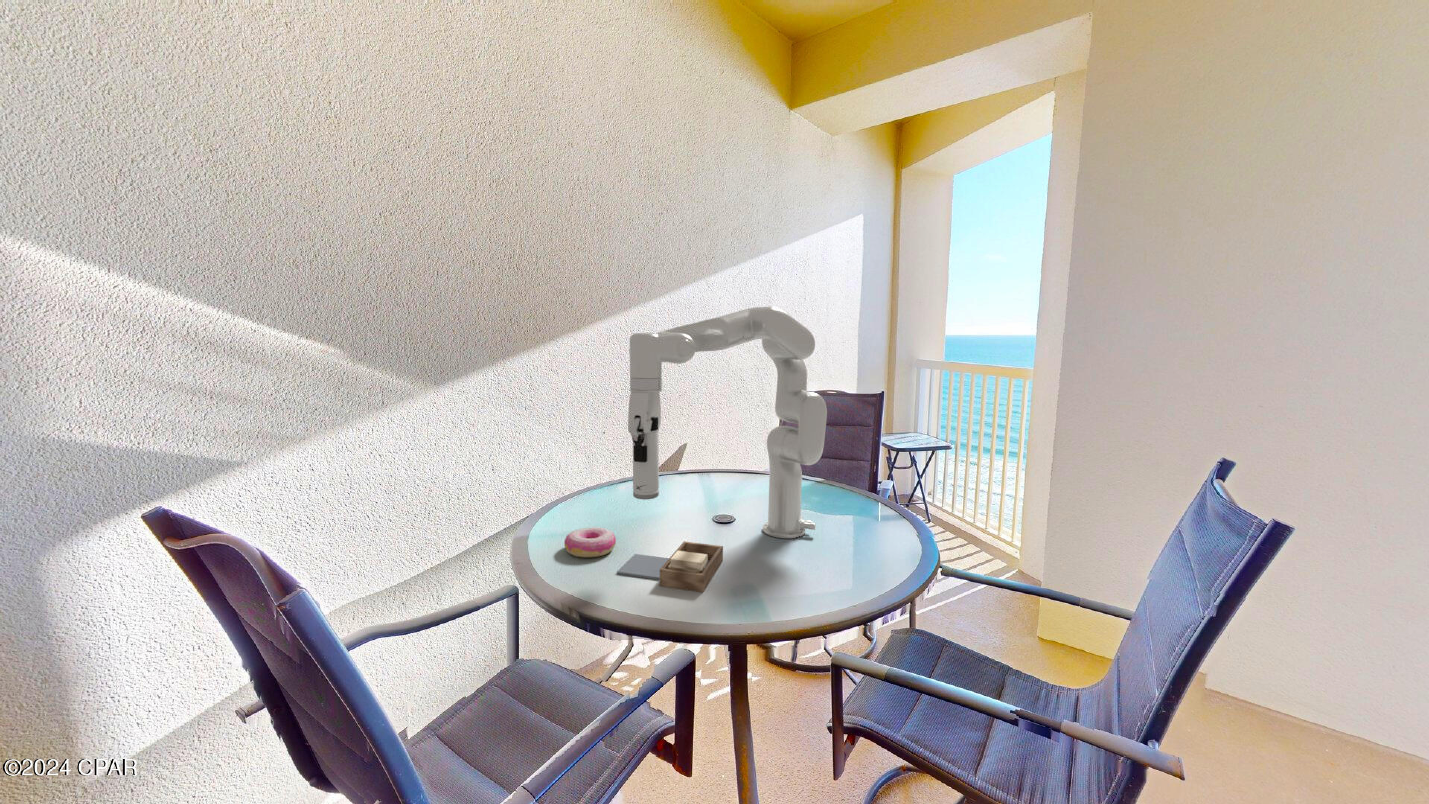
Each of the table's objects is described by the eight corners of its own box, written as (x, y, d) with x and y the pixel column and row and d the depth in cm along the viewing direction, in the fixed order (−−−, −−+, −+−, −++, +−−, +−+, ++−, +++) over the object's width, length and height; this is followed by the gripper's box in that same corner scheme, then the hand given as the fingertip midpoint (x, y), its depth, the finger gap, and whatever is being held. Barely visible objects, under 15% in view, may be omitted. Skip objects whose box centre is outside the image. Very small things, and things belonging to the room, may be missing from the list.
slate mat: (674, 561, 138) (674, 559, 138) (659, 579, 127) (659, 577, 127) (635, 556, 141) (635, 553, 141) (616, 573, 130) (616, 571, 130)
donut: (620, 557, 141) (620, 538, 140) (568, 564, 135) (568, 546, 135) (610, 538, 153) (610, 521, 152) (562, 545, 148) (561, 527, 147)
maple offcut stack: (707, 578, 129) (707, 554, 128) (701, 587, 124) (701, 562, 123) (675, 573, 131) (675, 550, 130) (668, 582, 126) (668, 558, 126)
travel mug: (638, 501, 127) (637, 418, 125) (629, 494, 133) (628, 414, 130) (663, 498, 130) (663, 416, 127) (653, 490, 136) (653, 412, 133)
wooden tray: (722, 560, 138) (723, 546, 138) (703, 592, 122) (703, 575, 121) (683, 555, 141) (683, 541, 141) (659, 585, 124) (659, 569, 124)
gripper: (645, 381, 137) (645, 450, 140) (615, 387, 121) (616, 465, 123) (672, 382, 135) (672, 452, 138) (646, 389, 119) (646, 468, 121)
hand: (646, 457), depth 130 cm, fingers closed on travel mug, 6 cm apart
